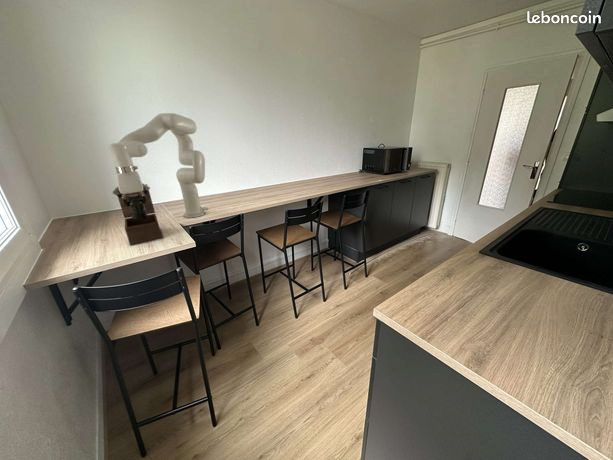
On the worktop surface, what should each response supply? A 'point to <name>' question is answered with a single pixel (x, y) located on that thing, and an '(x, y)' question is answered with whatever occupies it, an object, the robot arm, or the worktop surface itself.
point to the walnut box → (142, 229)
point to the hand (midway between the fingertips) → (136, 204)
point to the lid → (148, 204)
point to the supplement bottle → (137, 207)
